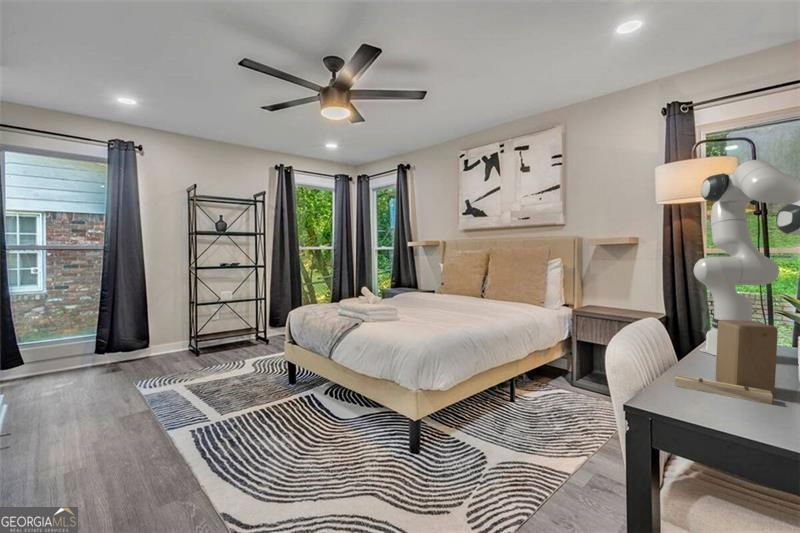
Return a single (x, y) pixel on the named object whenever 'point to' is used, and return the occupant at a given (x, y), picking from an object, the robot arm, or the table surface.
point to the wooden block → (746, 354)
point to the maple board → (724, 389)
